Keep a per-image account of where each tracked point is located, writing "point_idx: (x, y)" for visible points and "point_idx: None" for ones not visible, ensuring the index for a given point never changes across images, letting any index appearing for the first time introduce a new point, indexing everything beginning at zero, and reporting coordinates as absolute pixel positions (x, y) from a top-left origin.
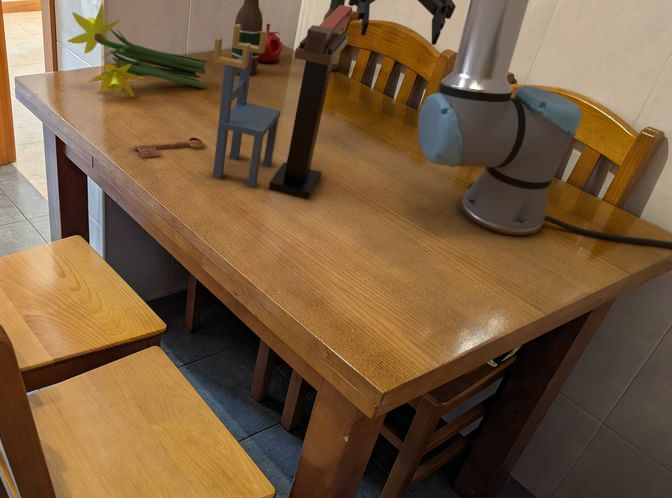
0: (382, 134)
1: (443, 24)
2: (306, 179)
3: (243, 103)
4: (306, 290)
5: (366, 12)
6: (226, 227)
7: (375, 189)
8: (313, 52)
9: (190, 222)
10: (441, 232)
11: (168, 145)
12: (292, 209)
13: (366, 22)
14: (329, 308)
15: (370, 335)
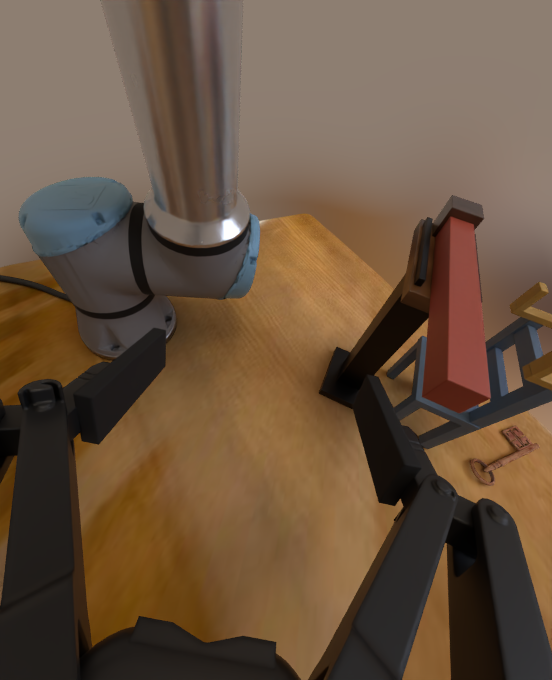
0: (164, 600)
1: (106, 363)
2: (339, 371)
3: (472, 410)
4: (338, 259)
5: (389, 406)
6: None
7: (257, 373)
8: None
9: None
10: (218, 303)
11: (507, 456)
12: (348, 335)
13: (374, 377)
14: (326, 247)
15: (307, 232)
